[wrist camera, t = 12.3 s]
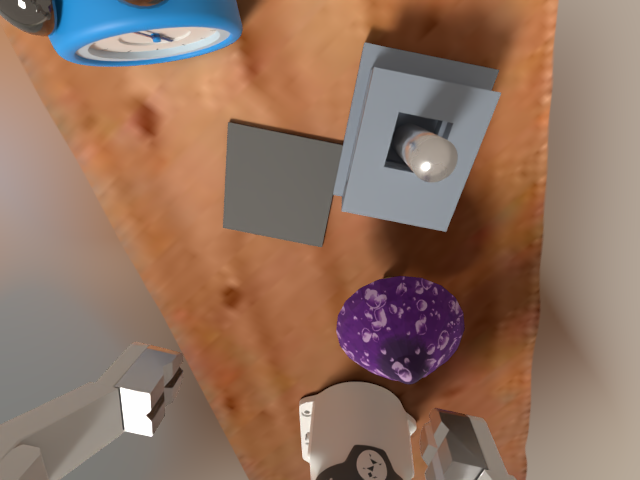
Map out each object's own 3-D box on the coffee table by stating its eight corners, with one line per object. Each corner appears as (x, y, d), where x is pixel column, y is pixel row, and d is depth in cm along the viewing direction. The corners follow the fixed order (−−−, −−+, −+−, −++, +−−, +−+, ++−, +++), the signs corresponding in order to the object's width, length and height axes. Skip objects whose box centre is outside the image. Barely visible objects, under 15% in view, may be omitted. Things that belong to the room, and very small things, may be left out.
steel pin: (427, 126, 30) (464, 142, 21) (417, 158, 31) (448, 186, 22) (396, 120, 30) (420, 134, 21) (388, 152, 31) (406, 178, 22)
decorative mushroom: (456, 248, 36) (520, 341, 23) (418, 329, 42) (452, 442, 28) (353, 224, 36) (356, 303, 23) (328, 308, 42) (319, 412, 28)
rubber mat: (322, 245, 38) (321, 247, 37) (224, 226, 38) (223, 227, 37) (343, 144, 32) (342, 145, 32) (229, 121, 32) (228, 122, 32)
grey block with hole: (439, 211, 35) (456, 233, 29) (333, 190, 35) (331, 209, 29) (492, 71, 29) (526, 66, 23) (363, 44, 28) (367, 34, 23)
